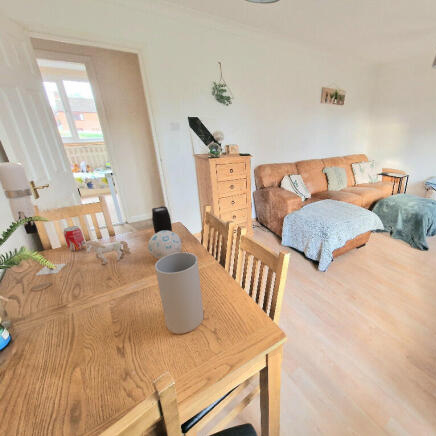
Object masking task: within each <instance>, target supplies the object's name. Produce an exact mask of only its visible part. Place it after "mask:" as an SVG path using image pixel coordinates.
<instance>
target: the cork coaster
mask: <svg viewBox="0 0 436 436" xmlns="http://www.w3.org/2000/svg"><path fill="white" fill-rule="evenodd" d="M51 285H52V281H49V280H46V281H41V282H38V283H36V284H34V285H32V286H31V287H30V290H31V292H38V291H39V292H40V291H43V290H45V289H48V288H49V287H50V286H51Z"/></svg>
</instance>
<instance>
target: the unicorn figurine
mask: <svg viewBox="0 0 436 436" xmlns="http://www.w3.org/2000/svg"><path fill="white" fill-rule="evenodd" d="M82 245H84V246H83V247H79V248H83V249H85V251H86V253H88V254H90V253H92V251H91V250H92V249H93V252H94V253H95V255H94V257H95V258H96V260H98V261H99V262H102V263H101V265H106V263H108V264H109V262H108V258H106V257H105V256H104V254H107V253H108V254H109V253H111V252H113V251H114V252H116V253H117V256H116V257H115V259H116V260H115V261H116V262H119V261H120V259H123V257H125V256H129V255H131V254H132V252H131V250H130V248H129V244H128V243H127V241H125V240H120V241H111V242H109V243H108V242H107V243H102V242H100V241H97V240H91V239H90V240H87V241H85V244H82Z"/></svg>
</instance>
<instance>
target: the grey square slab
mask: <svg viewBox="0 0 436 436" xmlns="http://www.w3.org/2000/svg"><path fill="white" fill-rule="evenodd" d="M67 264H68V263H67V262H65V263H57V264H54V265H55V266H57V268H56V269H53V268H47V266H46V265H45V266H44V267H43V268H41V269H40V270H39V271H38V272H37V273H35V276H42V275H50V274H51V275H52V274H58V273H60V271H61V270H62V269H63V268H64V267H65V266H66V265H67Z"/></svg>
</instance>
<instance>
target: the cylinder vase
mask: <svg viewBox="0 0 436 436" xmlns="http://www.w3.org/2000/svg"><path fill="white" fill-rule="evenodd" d="M198 259H199V258H198V256H197V255H196V254H194V253H191V252H188V251H187V252H186V251H185V252H182V251H180V252H179V253H173V254H170V255H167V256H165V257H163V258H161V259H160V260H159V259H157V261H156V262H155V263H154V270H155V274H156V279H157V285H158V290H159V296H160V301H161V305H162V309H163V310H162V311H163V316H164V321H165V326H166V328H167V330H168V331H169V332H171V333H173V334H177V335H178V334H179V335H182V334H187V333H189V332H192V331H194V330H195V329H197V328H198V327H199V326H200V325H201V324H202V322H203V321H204V317H205V316H204V305H203V296H202V287H201V277H200V269H199V260H198Z"/></svg>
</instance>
